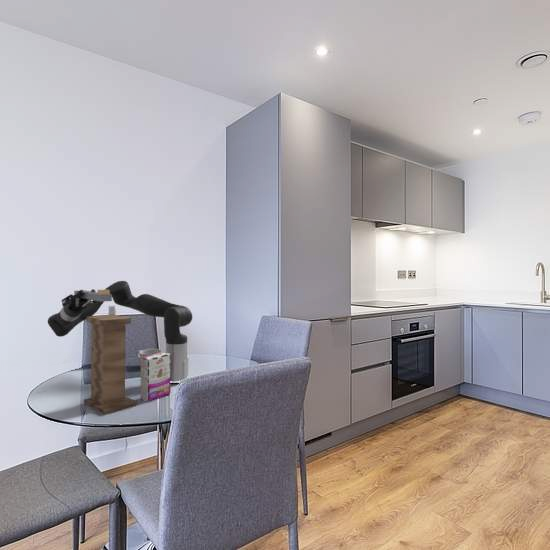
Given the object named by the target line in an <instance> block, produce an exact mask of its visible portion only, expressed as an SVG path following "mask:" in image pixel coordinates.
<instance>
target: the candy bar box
mask: <svg viewBox="0 0 550 550" xmlns="http://www.w3.org/2000/svg"><path fill="white" fill-rule="evenodd" d="M171 392H172V391H171V384H170V354H169V353H166V352H165V351H164V352H162V353H158V354H154V355H150V356H146V357H142V358H141V364H140V400H141V399H142V400H141V401H143V400H145V401H144V402H147V401H150V402H152V400H153V401H155V399H156V400H158V399H160V397H161V398H164V397H166V396H169V395H171V394H170V393H171ZM168 394H169V395H168ZM165 395H166V396H165ZM163 396H164V397H163ZM157 398H158V399H157Z"/></svg>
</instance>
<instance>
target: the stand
mask: <svg viewBox="0 0 550 550" xmlns="http://www.w3.org/2000/svg"><path fill="white" fill-rule="evenodd" d="M85 322H86V323H89V324H91V333H90V334H91V336H90V337H91V344H90V345H91V349H90V352H91V353H90V354H91V355H90V356H91V358H90V359H91V360H90V361H91V362H90V364H91V366H90V397H89V398H88V397H87V398H84V399H83V401H84V402H83V404H85V405H86V406H88V407H90V408H91V407H92V408H91V409H93V408H94V409H93V410H95V409H96V410H95V411H97V412H98V411H99V412H98V413H100V412H101V413H100V414H102V413H103V414H102V415H104V416H106V415H109V414H112V413H116V412H119V411H123V409H124V410H126V409H130V407H131V408H133V406H134V407H137V406H136V405H138V402H137V401H136V400H134V399H132V398H130V397H128V396H126V335H127V334H126V333H127V332H126V328H127V327H126V325H129V324H132V317H128V316H123V315H118V314H117V315H114V314H110V315H108V314H100V315H93V316H87V319H86V320H85ZM105 414H106V415H105Z"/></svg>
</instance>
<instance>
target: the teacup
mask: <svg viewBox="0 0 550 550" xmlns="http://www.w3.org/2000/svg"><path fill="white" fill-rule="evenodd" d="M158 353H162V350H161V349H158V348H148V349H143V350H137V352H136V357H137V359H138V360H139V364H140V365H141V358H142V357H146V356H150V355H154V354H158Z"/></svg>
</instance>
